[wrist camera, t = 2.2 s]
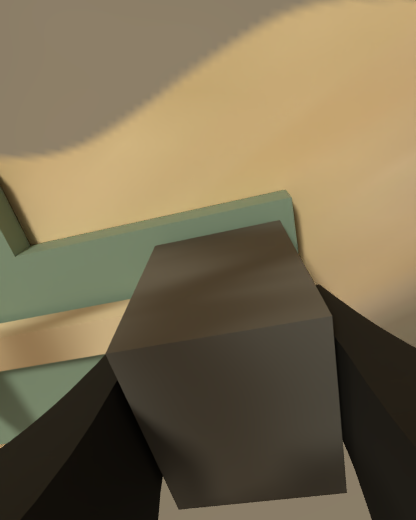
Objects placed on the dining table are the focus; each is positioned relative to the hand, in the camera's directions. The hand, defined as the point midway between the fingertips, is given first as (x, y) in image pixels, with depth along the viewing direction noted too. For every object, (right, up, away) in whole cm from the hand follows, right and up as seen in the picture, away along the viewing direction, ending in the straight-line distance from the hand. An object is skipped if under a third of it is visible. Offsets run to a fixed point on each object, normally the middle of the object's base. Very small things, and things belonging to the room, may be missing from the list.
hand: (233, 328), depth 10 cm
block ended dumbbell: (-5, 0, +2) cm, 5 cm away
